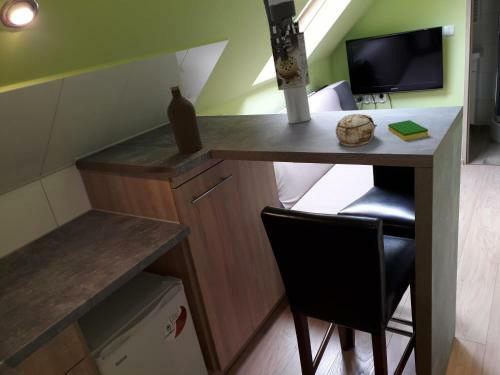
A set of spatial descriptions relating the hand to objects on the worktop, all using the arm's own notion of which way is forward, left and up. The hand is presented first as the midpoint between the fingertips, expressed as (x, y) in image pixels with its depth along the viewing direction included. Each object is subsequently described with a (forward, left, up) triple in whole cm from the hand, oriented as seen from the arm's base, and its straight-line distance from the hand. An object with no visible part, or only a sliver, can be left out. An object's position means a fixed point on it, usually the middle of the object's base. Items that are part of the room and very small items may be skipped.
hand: (290, 59), depth 123 cm
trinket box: (-2, +17, -28) cm, 33 cm away
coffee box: (0, 0, -9) cm, 9 cm away
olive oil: (+6, -46, -28) cm, 54 cm away
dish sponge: (-8, +32, -28) cm, 43 cm away
